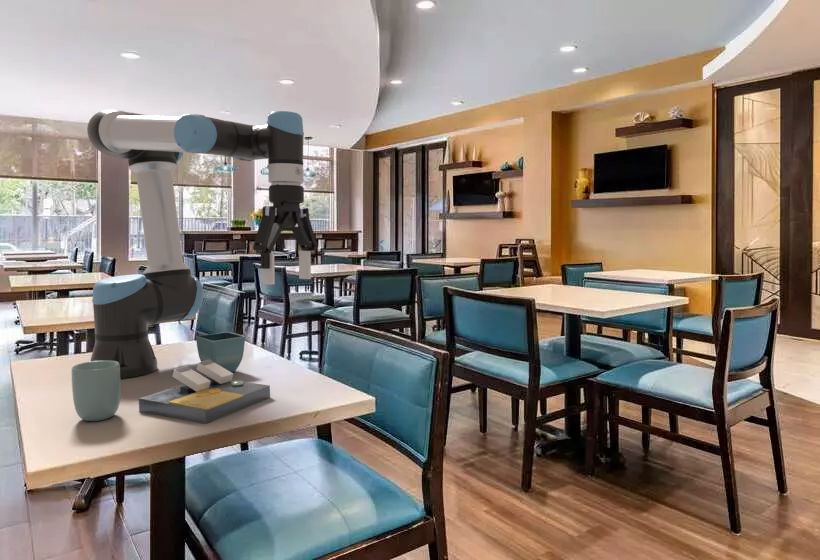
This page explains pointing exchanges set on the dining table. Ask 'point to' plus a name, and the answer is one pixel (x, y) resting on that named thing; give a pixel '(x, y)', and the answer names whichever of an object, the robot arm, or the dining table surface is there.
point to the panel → (204, 400)
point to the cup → (96, 389)
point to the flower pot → (221, 349)
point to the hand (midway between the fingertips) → (287, 281)
